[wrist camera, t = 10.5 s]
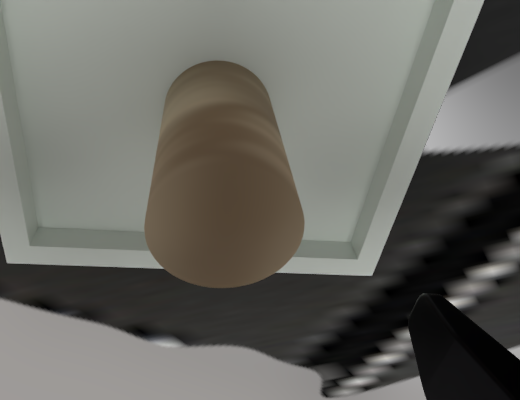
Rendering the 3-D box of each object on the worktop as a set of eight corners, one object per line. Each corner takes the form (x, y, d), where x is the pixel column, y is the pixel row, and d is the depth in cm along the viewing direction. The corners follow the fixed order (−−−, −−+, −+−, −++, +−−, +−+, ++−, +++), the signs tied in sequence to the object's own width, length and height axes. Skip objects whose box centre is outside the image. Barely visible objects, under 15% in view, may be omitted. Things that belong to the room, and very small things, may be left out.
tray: (476, -69, 15) (508, -61, 13) (360, 247, 23) (372, 275, 21) (-55, -164, 12) (-94, -170, 11) (22, 232, 20) (7, 263, 19)
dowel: (279, 67, 16) (320, 171, 11) (262, 163, 18) (288, 290, 13) (166, 53, 16) (144, 156, 10) (162, 154, 18) (143, 285, 12)
